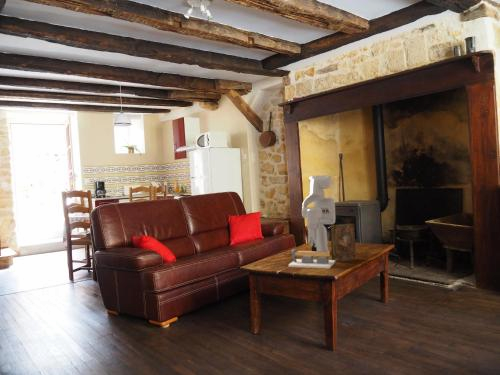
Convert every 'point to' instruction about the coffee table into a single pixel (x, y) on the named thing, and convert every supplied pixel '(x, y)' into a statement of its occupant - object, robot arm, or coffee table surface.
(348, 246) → the book
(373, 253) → the coffee table surface
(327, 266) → the board
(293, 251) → the tan wooden bar
